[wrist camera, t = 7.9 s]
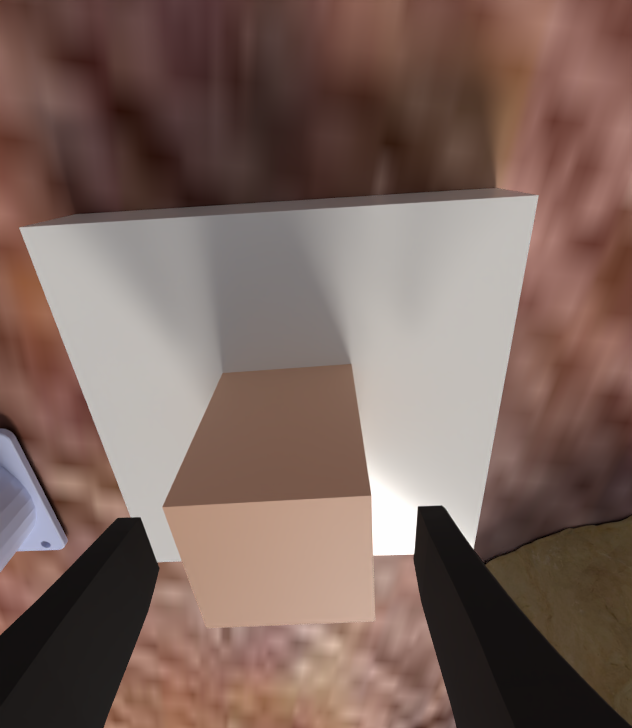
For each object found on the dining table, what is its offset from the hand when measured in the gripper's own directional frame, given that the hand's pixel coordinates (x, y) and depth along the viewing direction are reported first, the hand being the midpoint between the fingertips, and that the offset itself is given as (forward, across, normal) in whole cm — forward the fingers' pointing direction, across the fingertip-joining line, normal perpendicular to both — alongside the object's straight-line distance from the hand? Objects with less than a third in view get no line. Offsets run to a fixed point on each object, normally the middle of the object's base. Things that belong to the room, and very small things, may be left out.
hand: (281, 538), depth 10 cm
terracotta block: (+5, 0, 0) cm, 5 cm away
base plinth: (+8, 0, 0) cm, 8 cm away
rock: (+8, -13, +12) cm, 20 cm away
